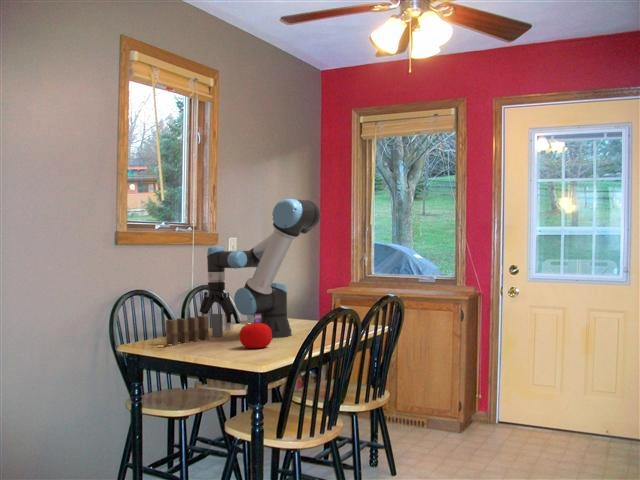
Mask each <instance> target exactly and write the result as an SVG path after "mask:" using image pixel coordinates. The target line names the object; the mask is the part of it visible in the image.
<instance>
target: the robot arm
mask: <svg viewBox="0 0 640 480" xmlns="http://www.w3.org/2000/svg"><path fill="white" fill-rule="evenodd" d="M271 215H272V221H273V222H272V226H273V231H272V233H271V234H270V235H268V236H267V237H266V238H264V239H263V240H262V241H260V242H259V243H257V244H256V245H255V246H254V247H252V248H250V249H249V250H225V247H223V246H209V247H208V248H207V253H206V259H207V260H206V261H207V263H206V265H207V281H208V282H207V291H205V292H204V293H203V298H202V303H201V305H200V308H199V312H200V313H202V316H208V329H210V324H211V323H210V310H211V308H212V307H213V305H214V304H215V303H217V304H219V306H220V307H221V309H222V310H223V312H224V315H223V318H224V332H225V331H231V322H232V315H234V314H235V310H234V306H233V304H232V301H231V298H230V293H229V292H224V291H225V289H226V283H225V281H226V276H225V275H226V272H225V269H235V270H236V269H242V268H243V269H244V268H256V269H255V270H254V274H253V275H252V277H249V278H248V279H246V282H245V284H244V286H243V287H240V288H238V289H237V290H236V291H235V293H234V298H233V301H234V302H233V303H234V305H235V309H236V310H237V311H238V312H239V313H240V314H242V315H243V316H247V315H254V314H261V320H260V323H262V324H266V325H268V326H269V327H270V329H271V333H272V339H273V338H285V337H290V336H292V328H291V325H290V322H289V319H288V292H287V291H288V290H287V286H286V285H285V284H284V283H279V282H278V283H277V282H274V280H275V278H276V276H277V274H278V272H279V269H280V268H281V266H282V263H283V261H284V260H285V257H286V255H287V253H288V251H289V249H290V247H291V245H292V242H293V240H295V239H296V238H299V236H301V234H303V235H305V234H307V233H308V232H310V231H312V230H313V229H314V228H316V226H317V225H319V222H320V220H321V216H322V215H321V210H320V206H318V205H317V204H316V203H315V202H314V201H311V200H307V199H296V198H285V199H282V200H279V201H278V202H277V203H276V205H275V206H274V207H273V210H272V214H271ZM262 321H263V322H262Z"/></svg>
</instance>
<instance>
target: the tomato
mask: <svg viewBox="0 0 640 480" xmlns="http://www.w3.org/2000/svg"><path fill="white" fill-rule="evenodd" d="M262 322H263V321H262ZM238 338H239V342H240V343H241V345H242V346H243V347H244V348H247V349H262V348H266V347H267V346H269V345H270V343H271V342H272V340H273V338H272V333H271V329H270V327H269V326H268V325H266V324H262V323H256V322H254V323H251V324H248V323H246V325H243V326H242V327H241V328H240V331H239V333H238Z"/></svg>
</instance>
